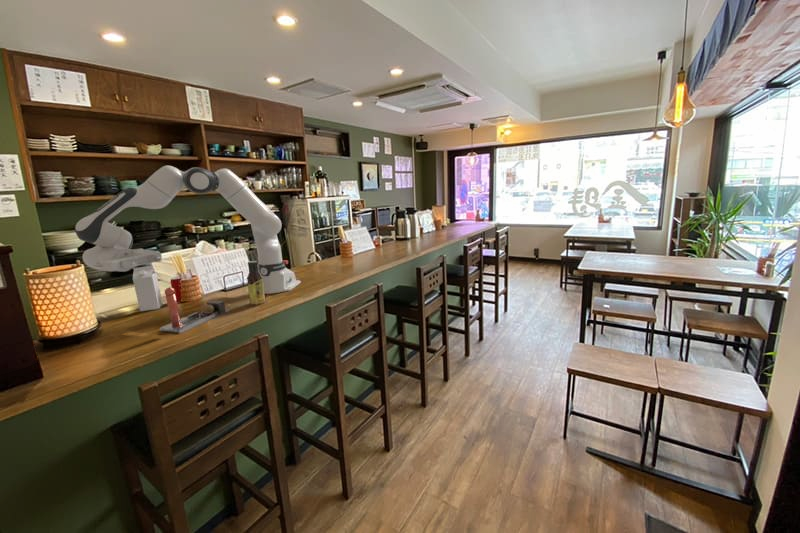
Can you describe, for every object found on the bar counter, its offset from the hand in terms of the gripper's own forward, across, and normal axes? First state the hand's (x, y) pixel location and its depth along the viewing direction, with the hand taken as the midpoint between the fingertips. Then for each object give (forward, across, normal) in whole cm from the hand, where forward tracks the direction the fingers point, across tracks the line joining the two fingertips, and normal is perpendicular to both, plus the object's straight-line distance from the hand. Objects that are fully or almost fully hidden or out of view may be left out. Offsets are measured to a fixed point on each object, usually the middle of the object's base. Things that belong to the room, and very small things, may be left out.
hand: (148, 261), depth 131 cm
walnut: (+14, +10, +23) cm, 29 cm away
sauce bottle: (+26, +26, +24) cm, 44 cm away
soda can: (-16, +25, +25) cm, 39 cm away
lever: (+14, -4, +23) cm, 28 cm away
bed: (+14, +5, +25) cm, 29 cm away
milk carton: (-22, +15, +26) cm, 38 cm away
